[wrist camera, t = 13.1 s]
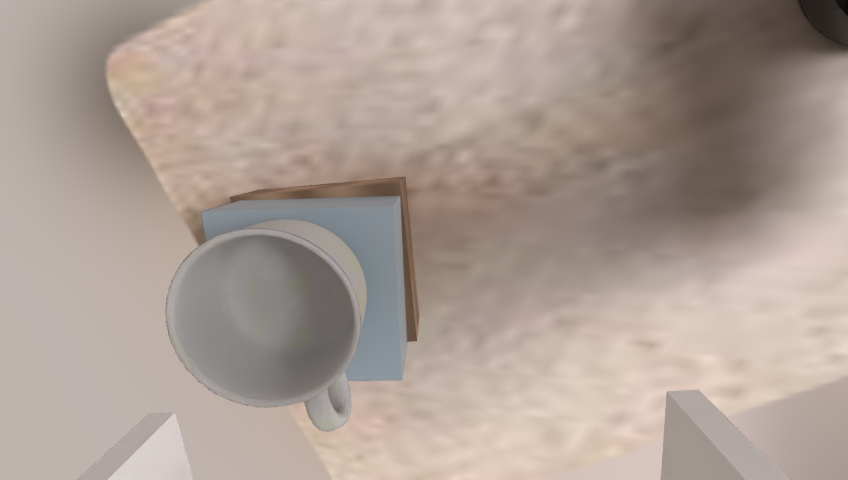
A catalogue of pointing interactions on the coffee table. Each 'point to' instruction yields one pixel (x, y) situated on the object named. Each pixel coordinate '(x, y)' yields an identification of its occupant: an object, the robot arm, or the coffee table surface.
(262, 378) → the teacup
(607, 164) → the coffee table surface
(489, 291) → the coffee table surface
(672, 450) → the robot arm
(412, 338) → the base block
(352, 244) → the top block
